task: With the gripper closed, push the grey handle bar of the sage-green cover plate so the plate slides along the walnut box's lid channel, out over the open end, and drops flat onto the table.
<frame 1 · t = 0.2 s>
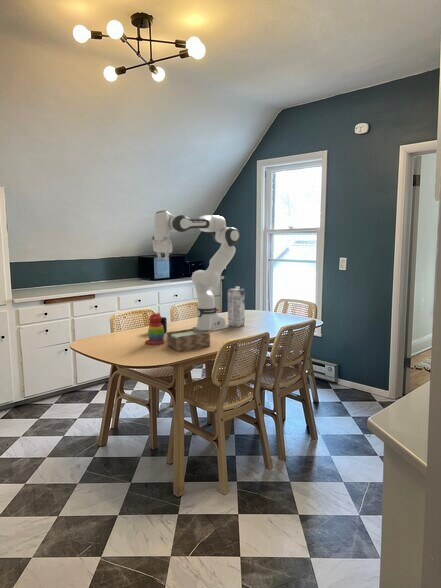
hand: (163, 259, 268), 48 cm above the table, tool pointing down, fingers open, 8 cm apart
walnut box: (188, 346, 246), on the table
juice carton: (236, 325, 299), on the table
black flat block: (158, 333, 281), on the table
stacking bear: (156, 343, 255), on the table
cover plate: (188, 336, 245), point 6 cm above the table, touching walnut box
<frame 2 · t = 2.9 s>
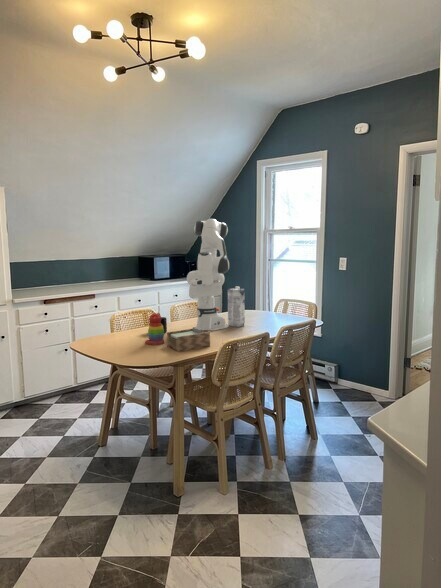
hand: (206, 304, 249), 23 cm above the table, tool pointing down, fingers closed
nothing on the table moved.
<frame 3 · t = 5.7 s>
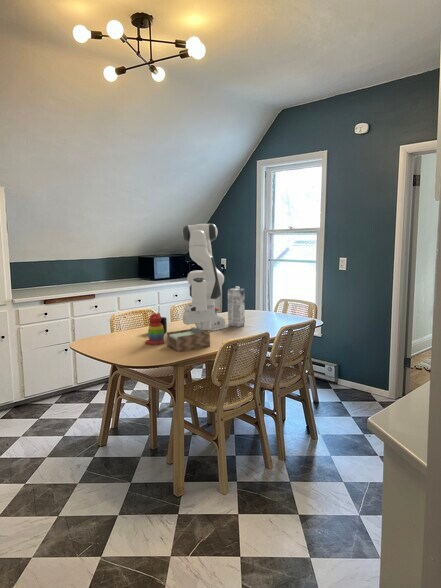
hand: (200, 330, 249), 8 cm above the table, tool pointing down, fingers closed
cover plate: (187, 336, 245), point 6 cm above the table, touching gripper, walnut box
everything else where it was.
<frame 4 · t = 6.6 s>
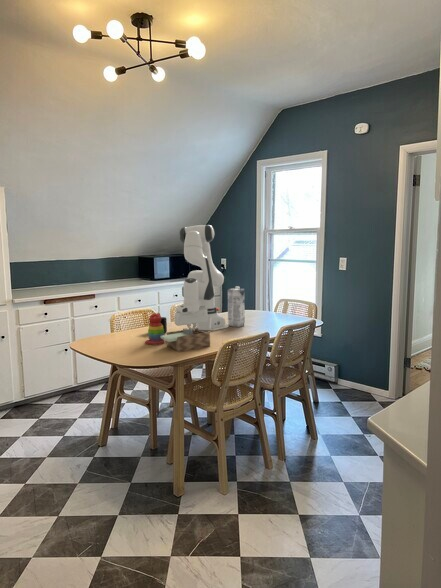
hand: (192, 331, 246), 8 cm above the table, tool pointing down, fingers closed
cover plate: (178, 337, 242), point 6 cm above the table, touching gripper
everything else where it was.
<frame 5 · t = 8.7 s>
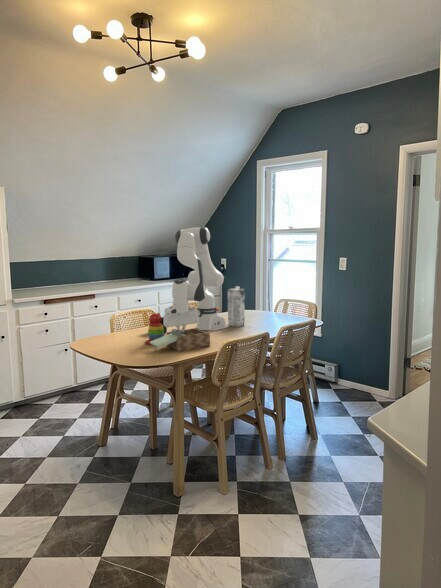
hand: (181, 333, 242), 9 cm above the table, tool pointing down, fingers closed
cover plate: (168, 340, 239), point 5 cm above the table, tilted 12°, touching gripper
everything else where it was.
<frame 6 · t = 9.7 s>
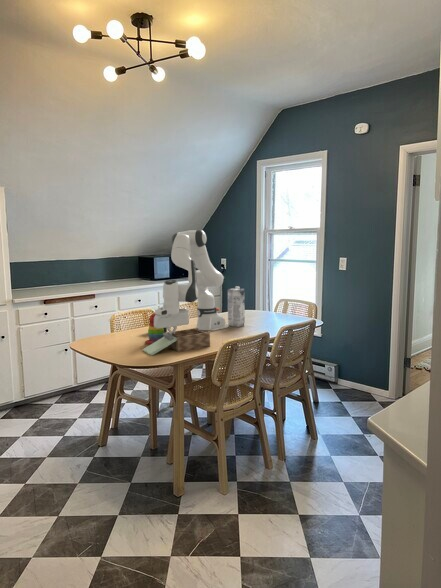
hand: (172, 334, 239), 9 cm above the table, tool pointing down, fingers closed
cover plate: (160, 345, 237), point 3 cm above the table, tilted 22°, touching gripper, walnut box
everything else where it was.
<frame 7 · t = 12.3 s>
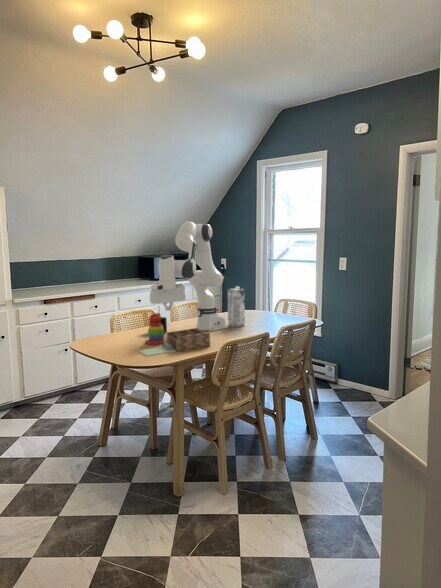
hand: (168, 310, 237), 22 cm above the table, tool pointing down, fingers closed
cover plate: (157, 352, 237), on the table
everything else where it was.
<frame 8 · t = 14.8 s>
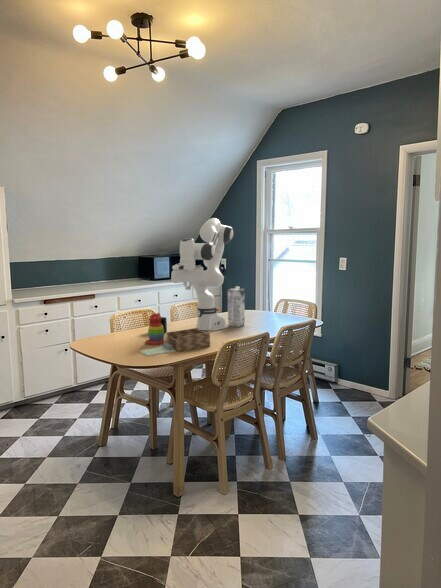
hand: (188, 289, 253), 31 cm above the table, tool pointing down, fingers closed
nothing on the table moved.
at the end: cover plate inside the target area (4.7 cm from its centre), on the table; cover plate moved 19.8 cm from its start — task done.
